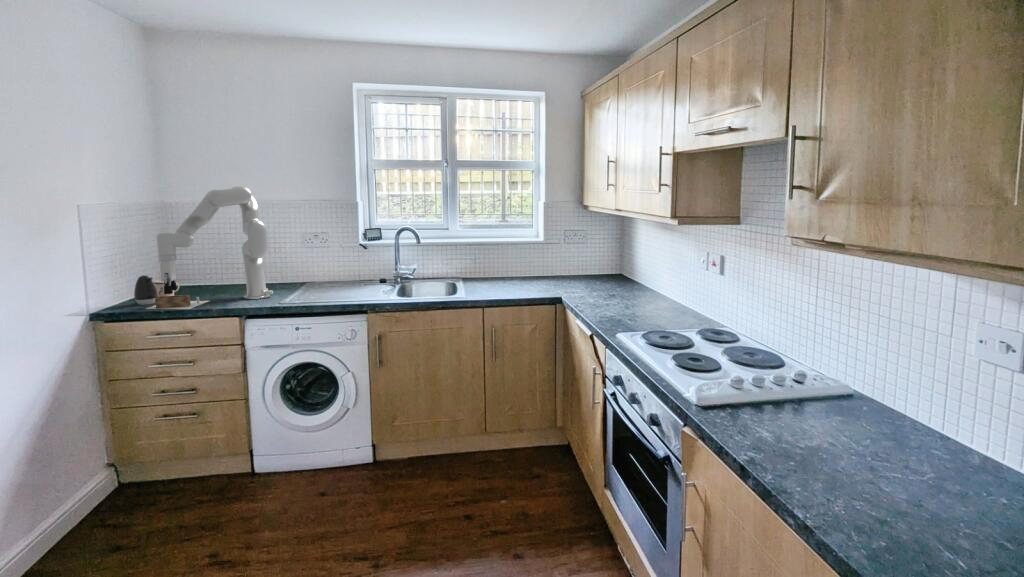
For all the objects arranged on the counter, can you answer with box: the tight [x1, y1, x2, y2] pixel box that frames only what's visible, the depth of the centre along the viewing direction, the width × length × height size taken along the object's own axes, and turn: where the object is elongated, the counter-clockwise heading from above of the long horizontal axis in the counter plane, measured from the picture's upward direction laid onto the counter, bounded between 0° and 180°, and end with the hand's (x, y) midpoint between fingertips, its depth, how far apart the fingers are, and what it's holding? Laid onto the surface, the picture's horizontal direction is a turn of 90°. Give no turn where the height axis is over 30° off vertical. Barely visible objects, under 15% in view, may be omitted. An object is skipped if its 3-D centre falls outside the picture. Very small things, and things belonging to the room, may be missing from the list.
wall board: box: [145, 296, 210, 310], centre depth 282 cm, size 22×19×4 cm
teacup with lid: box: [153, 277, 180, 296], centre depth 303 cm, size 12×9×12 cm
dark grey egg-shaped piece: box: [133, 274, 158, 306], centre depth 284 cm, size 10×10×15 cm
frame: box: [154, 294, 191, 310], centre depth 278 cm, size 14×6×5 cm, turn 110°
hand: (170, 292), depth 276 cm, fingers open, 9 cm apart
